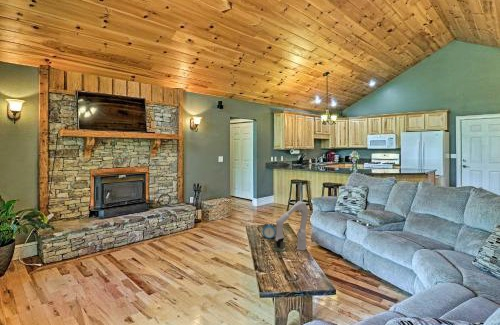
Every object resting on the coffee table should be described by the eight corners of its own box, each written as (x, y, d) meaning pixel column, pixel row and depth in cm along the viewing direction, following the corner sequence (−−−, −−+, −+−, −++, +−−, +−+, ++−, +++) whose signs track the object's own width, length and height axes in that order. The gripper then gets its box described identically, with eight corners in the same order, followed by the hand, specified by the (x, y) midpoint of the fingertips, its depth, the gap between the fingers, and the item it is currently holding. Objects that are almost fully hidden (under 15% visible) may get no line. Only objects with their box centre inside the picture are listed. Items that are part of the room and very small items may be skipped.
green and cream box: (276, 247, 268) (276, 242, 268) (286, 249, 264) (286, 244, 263) (272, 250, 261) (272, 244, 261) (283, 251, 257) (283, 246, 256)
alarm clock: (262, 238, 294) (262, 224, 293) (262, 236, 300) (262, 222, 300) (275, 238, 294) (275, 224, 293) (275, 236, 300) (275, 222, 299)
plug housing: (272, 246, 268) (272, 239, 268) (284, 248, 262) (284, 241, 262) (270, 247, 264) (270, 240, 264) (283, 249, 259) (283, 243, 258)
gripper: (278, 229, 270) (278, 243, 271) (272, 233, 257) (272, 248, 258) (285, 230, 266) (285, 244, 267) (279, 234, 254) (279, 249, 254)
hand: (279, 246), depth 262 cm, fingers closed on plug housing, 4 cm apart
